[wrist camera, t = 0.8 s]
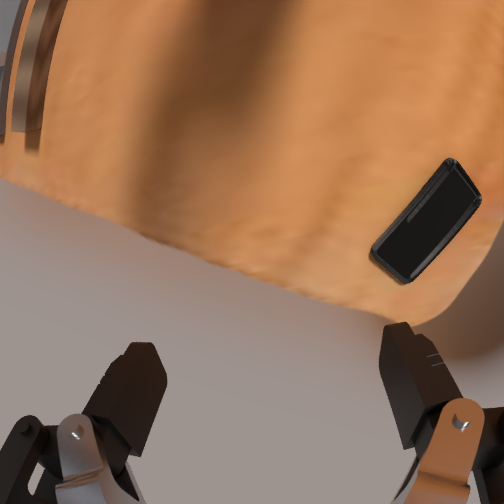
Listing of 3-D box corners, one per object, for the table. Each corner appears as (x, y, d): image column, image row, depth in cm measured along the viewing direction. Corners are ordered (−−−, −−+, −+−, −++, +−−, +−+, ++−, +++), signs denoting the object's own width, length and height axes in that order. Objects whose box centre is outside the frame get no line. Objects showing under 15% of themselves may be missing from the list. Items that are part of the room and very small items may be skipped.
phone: (484, 199, 26) (407, 286, 32) (479, 196, 27) (404, 281, 33) (452, 154, 24) (368, 253, 31) (447, 152, 25) (365, 248, 32)
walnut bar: (59, -15, 17) (43, -20, 14) (76, -19, 17) (60, -26, 14) (28, 126, 26) (10, 131, 23) (43, 127, 26) (25, 132, 23)
